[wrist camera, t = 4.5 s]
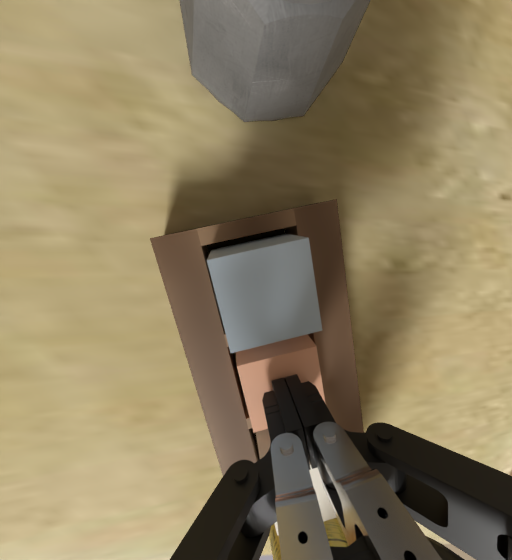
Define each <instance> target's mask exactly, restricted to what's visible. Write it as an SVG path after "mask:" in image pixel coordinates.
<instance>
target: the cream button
mask: <svg viewBox="0 0 512 560" xmlns="http://www.w3.org/2000/svg"><path fill="white" fill-rule="evenodd" d="M256 437H257V444H258V450H259V457H260V459H261V458H263V457H264V456H265V455H266V453H267V452H268V450H269V448H270V442H271V441H270V436H269V431H268V429H266V430H262V431H258V432H256ZM309 463H310V462H309ZM310 468H311V470H309V472H310V476H311V479H312V483H313V487H314V490H315V492H316V495H317V499H318V503H319V507H320V511H321V514H322V518H323V522H324V521H327V520H330V519H333V518H337V517H336V515H335V513H334V511H333V508H332V506H331V504H330V502H329V499H328V497H327V495H326V493H325V491H324V488H323V486H322V481H321V476H320V473H319V470H318V468H314V469H312V467H311V464H310ZM274 524H275V528H276V532H277V536H278V535H279V534H278V524H277V522H275V523H274Z"/></svg>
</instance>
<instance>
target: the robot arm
mask: <svg viewBox="0 0 512 560" xmlns="http://www.w3.org/2000/svg"><path fill="white" fill-rule="evenodd" d="M284 378H285V380H284ZM284 378H280V379H276V380H272V381H271V383H272V387H273V391H269V392H265V393H264V396H263V399H262V402H263V407H264V412H265V416H266V421H267V426H268V431H269V436H270V441H271V442H270V448H269V450H268V452H267V453H266V455H265V456H264V457H263V458H261V459H260V460H259V461H257V462H255V463H253V462H252V461H250V460H239V461H237V462H235V463H233V464H232V465H231V466H230V467H229V468H228V470H227V471H226V473H225V474H224V476H223V478H222V479H221V481H220V482H219V484H218V485H217V487H216V488H215V490H214V492H213V493H212V495H211V496H210V498H209V499H208V501H207V502H206V504H205V506H204V507H203V509H202V510H201V512H200V513H199V515H198V516H197V518H196V520H195V521H194V523H193V524H192V526H191V527H190V529H189V530H188V532H187V534H186V535H185V537H184V538H183V540H182V541H181V543H180V544H179V546H178V548H177V549H176V551H175V552H174V554H173V555H172V557H171V558H170V560H259V558H260V556H261V553H262V551H263V548H264V546H265V543H266V541H267V538H268V536H269V533H270V530H271V526H272V525H273V524H274V523H275V522H277V524H278V534H279V543H280V552H281V560H464V559H463V558H461V557H460V556H458V555H457V554H455V553H454V552H453V551H451V550H450V549H448V548H446V547H445V546H444V545H442V544H440V543H439V542H437V541H435V540H433V539H431V538H429V537H426V536H425V535H424V533H423V532H422V531H421V529H420V528H419V526H418V525H417V523H416V522H418V523H420V524H421V525H423V526H424V527H426V528H427V529H429V530H431V531H432V532H434V533H435V534H437V535H438V536H440V537H442V538H443V539H445V540H446V541H448V542H449V543H451V544H453V545H454V546H456V547H457V548H459V549H460V550H462V551H464V552H465V553H467V554H468V555H470V556H472V557H473V558H475V559H476V560H512V476H510V475H508V474H505V473H503V472H501V471H498V470H496V469H494V468H491V467H489V466H486V465H484V464H482V463H479V462H477V461H475V460H472V459H470V458H468V457H465V456H463V455H460V454H458V453H456V452H453V451H451V450H449V449H446V448H444V447H442V446H439V445H437V444H435V443H432V442H430V441H427V440H425V439H423V438H420V437H418V436H416V435H413V434H411V433H409V432H406V431H404V430H401V429H399V428H397V427H394V426H392V425H390V424H387V423H374V424H372V425H370V426H369V427H368V428H367V431H366V433H361V432H350V431H347V430H344V429H343V428H342V427H341V426H340V425H338V424H337V423H336V422H335V420H334V418H333V417H332V415H331V413H330V411H329V409H328V408H327V406H326V404H325V402H324V400H323V398H322V397H321V395H320V393H319V391H318V389H317V388H316V386H315V385H313V384H312V383H311V382H309V381H307V382H303V383H301V381H300V379H299V377H298V375H297V374H295V375H291V376H287V377H284ZM309 462H310V463H309ZM310 464H311V467H312V469H314V468H318V470H319V473H320V476H321V481H322V486H323V488H324V491H325V493H326V495H327V497H328V499H329V502H330V504H331V506H332V508H333V511H334V513H335V515H336V517H337V520H338V522H339V524H340V526H341V528H342V531H343V533H344V535H345V538H346V541H347V544H348V546H347V547H334V546H330V545H329V541H328V537H327V533H326V530H325V526H324V522H323V518H322V514H321V511H320V507H319V503H318V499H317V495H316V492H315V490H314V487H313V483H312V479H311V476H310V472H309V470H311V468H310ZM414 520H415V521H416V522H415V521H414Z"/></svg>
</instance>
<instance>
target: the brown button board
mask: <svg viewBox="0 0 512 560" xmlns="http://www.w3.org/2000/svg"><path fill="white" fill-rule="evenodd" d="M282 228H284V230H285V234H286V233H287V234H292V235H297V236H302V237H308V238H309V243H310V250H311V257H312V263H313V270H314V277H315V284H316V290H317V297H318V304H319V311H320V317H321V324H322V331H318V332H314V333H310V334H308V335H309V337H310V338H311V339H312V341H313V342H314V343H315V345H316V346H317V353H318V359H319V365H320V372H321V378H322V384H323V391H324V397H325V404H326V406H327V408H328V409H329V411H330V413H331V415H332V417H333V418H334V420H335V422H336V423H337V424H338V425H340V426H341V427H342V428H343V429H344V430H347V431H350V432H361V433H364V431H363V423H362V414H361V405H360V397H359V388H358V379H357V371H356V362H355V353H354V345H353V336H352V328H351V319H350V310H349V302H348V293H347V284H346V276H345V267H344V258H343V250H342V241H341V232H340V224H339V215H338V206H337V199H336V200H331V201H326V202H320V203H316V204H311V205H306V206H301V207H297V208H292V209H287V210H282V211H277V212H273V213H268V214H263V215H258V216H254V217H249V218H244V219H239V220H235V221H230V222H225V223H220V224H216V225H211V226H206V227H201V228H197V229H192V230H187V231H182V232H178V233H173V234H168V235H163V236H159V237H155V238H150V240H151V243H152V247H153V250H154V253H155V256H156V260H157V263H158V266H159V269H160V273H161V276H162V279H163V282H164V286H165V289H166V292H167V295H168V299H169V302H170V305H171V308H172V312H173V315H174V318H175V321H176V325H177V328H178V331H179V334H180V338H181V341H182V344H183V347H184V351H185V354H186V357H187V360H188V364H189V367H190V370H191V373H192V377H193V380H194V383H195V386H196V390H197V393H198V396H199V399H200V403H201V406H202V409H203V412H204V416H205V419H206V422H207V425H208V429H209V432H210V435H211V438H212V442H213V445H214V448H215V451H216V454H217V458H218V461H219V464H220V467H221V471H222V474H223V476H224V474H225V473H226V471H227V470H228V468H229V467H230V466H231V465H232V464H233V463H235V462H237V461H239V460H250V461H252V462H253V463H255V462H257V461H259V460H260V457H259V450H258V448H257V444H256V440H255V436H254V432H253V428H252V424H251V421H250V417H249V413H248V409H247V405H246V401H245V397H244V393H243V389H242V385H241V381H240V377H239V373H238V369H237V365H236V361H235V357H234V353H230V349H229V345H228V341H227V337H226V333H225V329H224V326H223V322H222V318H221V314H220V310H219V306H218V302H217V298H216V294H215V290H214V287H213V283H212V279H211V275H210V271H209V267H208V263H207V258H208V256H209V254H208V250H207V246H206V245H208V244H212V243H217V242H222V241H226V240H231V239H235V238H240V237H245V236H249V235H254V234H259V233H263V232H268V231H272V230H277V229H282Z"/></svg>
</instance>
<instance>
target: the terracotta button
mask: <svg viewBox="0 0 512 560" xmlns="http://www.w3.org/2000/svg"><path fill="white" fill-rule="evenodd" d="M236 363H237V369H238V373H239V377H240V381H241V385H242V389H243V393H244V397H245V401H246V405H247V409H248V413H249V417H250V421H251V424H252V428H253V432H254V433H255V432H258V431H262V430H266V429H268V426H267V421H266V416H265V412H264V407H263V402H262V399H263V396H264V393H265V392H269V391H273V387H272V383H271V381H272V380H276V379H280V378H284V377H287V376H291V375H295V374H297V375H298V377H299V379H300V381H301V383H303V382H307V381H309V382H311V383H312V384H313V385H315V386H316V388H317V389H318V391H319V393H320V395H321V397H322V398H323V400H324V402H325V397H324V391H323V384H322V378H321V372H320V365H319V359H318V353H317V346H316V345H315V343H314V342H313V341H312V339H311V338H310V337H309V335H308V334H306V335H302V336H298V337H294V338H290V339H286V340H282V341H278V342H274V343H270V344H266V345H262V346H258V347H254V348H250V349H246V350H242V351H238V352H236ZM284 380H285V378H284Z"/></svg>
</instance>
